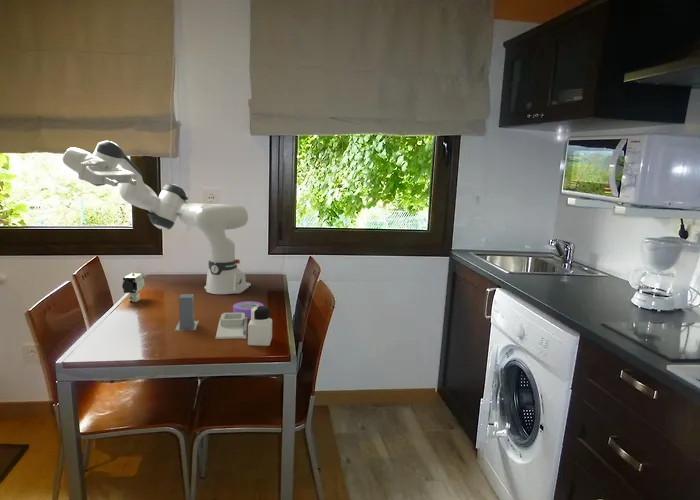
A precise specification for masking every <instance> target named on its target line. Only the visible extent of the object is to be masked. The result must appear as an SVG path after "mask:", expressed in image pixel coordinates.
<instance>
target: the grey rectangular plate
mask: <svg viewBox="0 0 700 500" xmlns="http://www.w3.org/2000/svg"><path fill="white" fill-rule="evenodd" d="M199 322H200V320H194V325H193V327H191V328H180V327H179V321H178V322H177V324H176V326H175V329H174V331H178V332H179V331H196V330H197V328H198V325H199Z"/></svg>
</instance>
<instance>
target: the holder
mask: <svg viewBox="0 0 700 500" xmlns="http://www.w3.org/2000/svg"><path fill="white" fill-rule="evenodd" d="M247 333H248V319H247V317H245V313H233V312H223V313H221V315H220V318H219V321H218V325H217V330H216V334H215V340H221V339H222V340H223V339H225V340H226V339H243V340H246V339H247Z"/></svg>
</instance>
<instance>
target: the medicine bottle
mask: <svg viewBox="0 0 700 500" xmlns="http://www.w3.org/2000/svg"><path fill="white" fill-rule="evenodd" d="M270 313H271V311H270V308H269V307H267V306H265V305H263V306H256V307H254V308H252V309H251V319H249V322H248V323H247V345H248V346H256V347H257V346H258V347H259V346H263V347H268V346H270V345H271V342H272V339H273V319H272V318H270Z"/></svg>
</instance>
